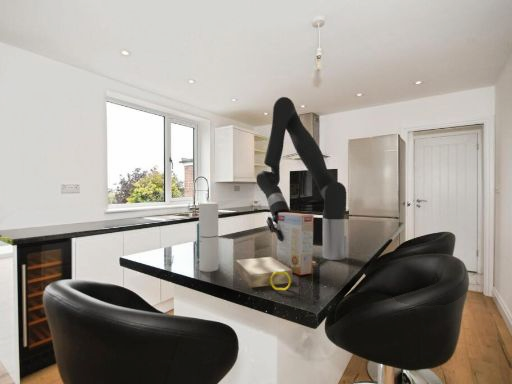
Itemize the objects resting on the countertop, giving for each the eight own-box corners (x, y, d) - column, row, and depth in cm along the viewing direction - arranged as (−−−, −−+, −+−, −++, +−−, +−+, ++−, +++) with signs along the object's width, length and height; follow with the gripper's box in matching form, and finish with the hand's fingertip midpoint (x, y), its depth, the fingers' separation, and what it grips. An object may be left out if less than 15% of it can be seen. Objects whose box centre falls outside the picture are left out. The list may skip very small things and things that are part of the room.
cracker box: (312, 274, 95) (314, 214, 95) (299, 276, 92) (301, 215, 92) (288, 264, 107) (289, 211, 107) (275, 266, 104) (277, 212, 104)
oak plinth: (271, 267, 104) (271, 256, 104) (292, 282, 87) (292, 270, 87) (236, 270, 99) (236, 260, 99) (251, 287, 82) (250, 274, 82)
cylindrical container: (209, 272, 97) (209, 203, 97) (195, 269, 101) (195, 203, 101) (222, 267, 103) (222, 202, 103) (208, 265, 107) (208, 202, 107)
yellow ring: (270, 291, 80) (269, 271, 80) (271, 288, 83) (270, 269, 83) (290, 291, 79) (289, 271, 79) (291, 288, 82) (289, 268, 82)
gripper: (264, 200, 107) (276, 234, 96) (296, 199, 112) (311, 232, 101) (259, 212, 112) (270, 246, 101) (291, 211, 117) (304, 243, 106)
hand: (290, 239), depth 101 cm, fingers closed on cracker box, 6 cm apart
